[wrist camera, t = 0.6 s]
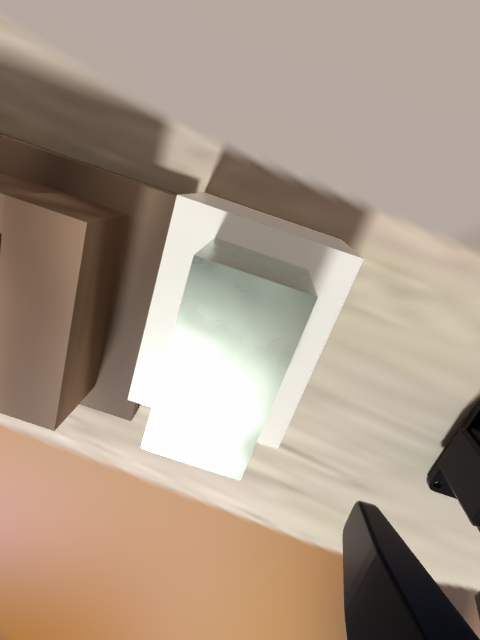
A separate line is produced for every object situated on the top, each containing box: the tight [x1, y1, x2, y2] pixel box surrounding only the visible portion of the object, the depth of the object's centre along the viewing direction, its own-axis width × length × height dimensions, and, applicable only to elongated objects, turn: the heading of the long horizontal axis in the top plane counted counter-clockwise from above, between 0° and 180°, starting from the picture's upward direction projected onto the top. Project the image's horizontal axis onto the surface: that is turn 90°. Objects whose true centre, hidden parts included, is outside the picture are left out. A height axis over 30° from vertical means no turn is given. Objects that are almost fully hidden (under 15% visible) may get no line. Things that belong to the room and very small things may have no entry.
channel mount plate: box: [0, 134, 178, 431], centre depth 18 cm, size 14×13×5 cm
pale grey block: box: [141, 238, 318, 481], centre depth 15 cm, size 4×7×7 cm, turn 162°
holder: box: [128, 192, 363, 449], centre depth 17 cm, size 7×9×5 cm
